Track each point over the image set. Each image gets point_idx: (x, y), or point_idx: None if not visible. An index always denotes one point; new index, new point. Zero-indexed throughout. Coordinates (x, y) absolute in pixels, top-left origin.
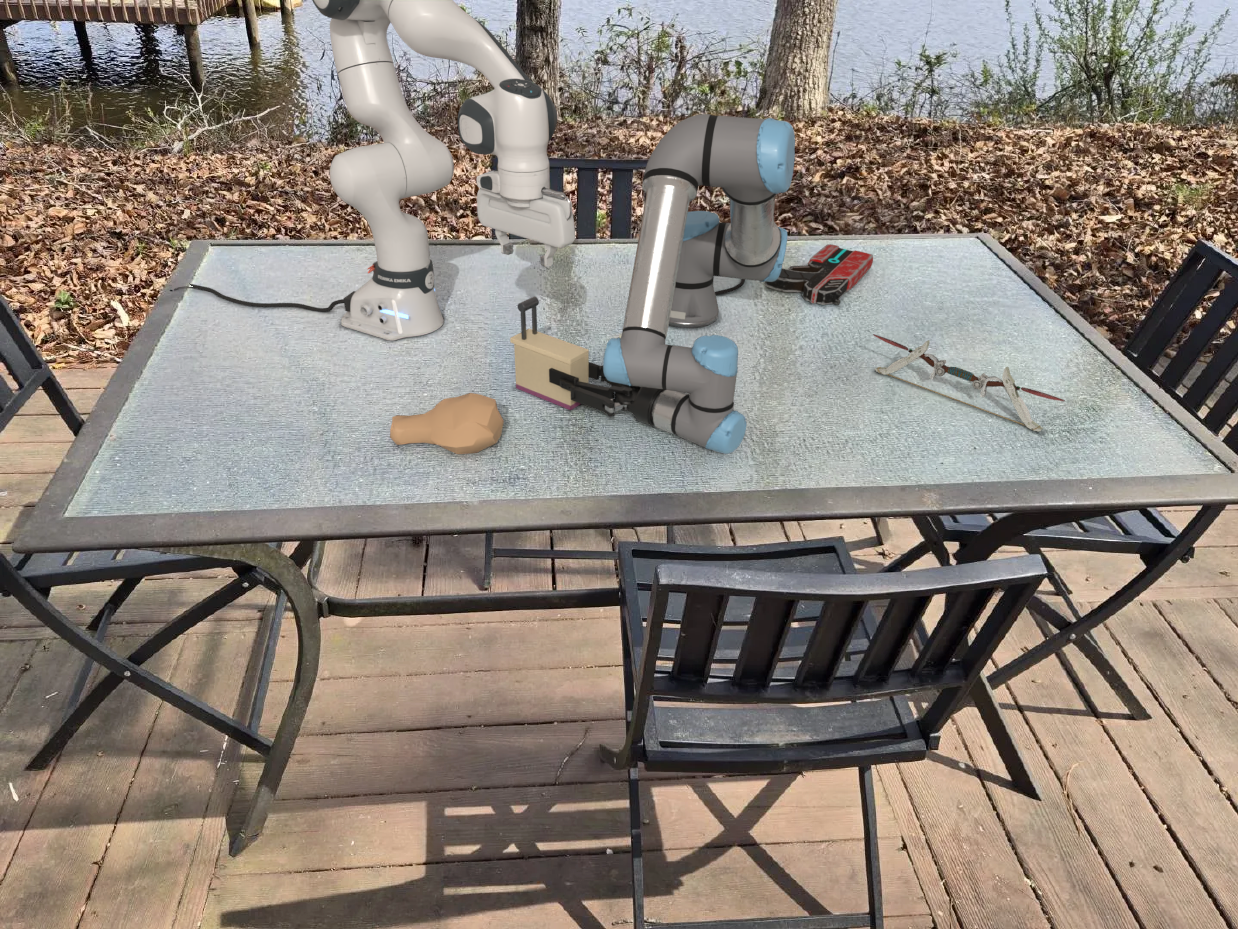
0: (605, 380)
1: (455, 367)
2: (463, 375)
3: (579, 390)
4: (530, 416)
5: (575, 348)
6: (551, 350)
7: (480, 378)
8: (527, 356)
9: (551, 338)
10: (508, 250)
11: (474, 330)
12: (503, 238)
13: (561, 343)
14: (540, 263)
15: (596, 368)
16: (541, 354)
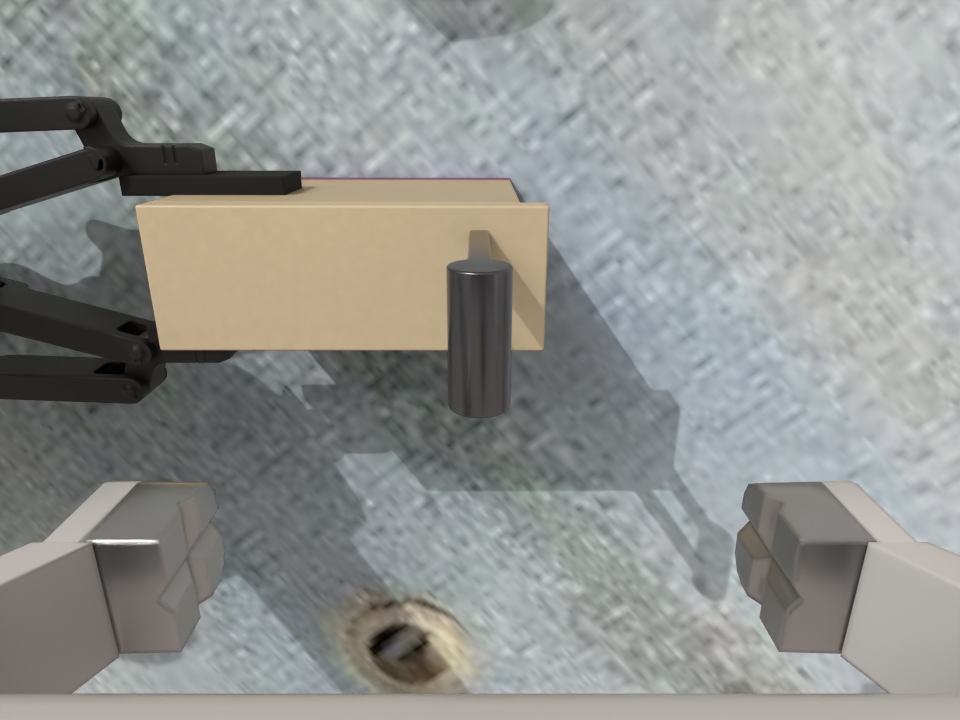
0: (132, 318)
1: (818, 154)
2: (749, 123)
3: (34, 105)
4: (314, 38)
5: (212, 319)
6: (281, 228)
7: (675, 149)
8: (433, 197)
9: (377, 331)
10: (772, 532)
11: (932, 426)
12: (948, 643)
13: (301, 319)
14: (197, 487)
15: (150, 323)
16: (334, 201)
